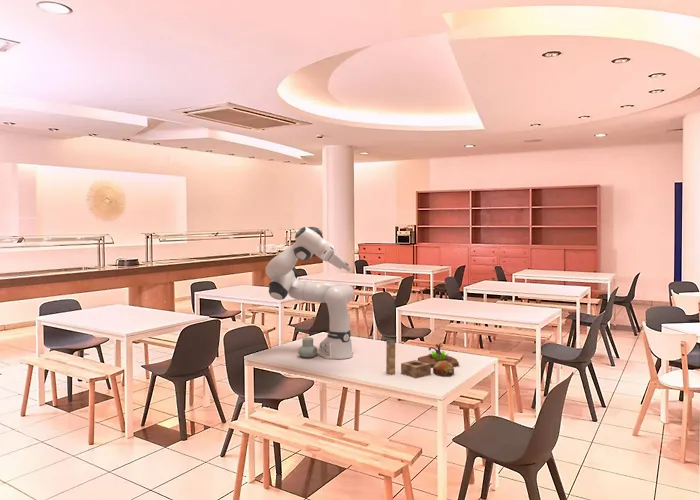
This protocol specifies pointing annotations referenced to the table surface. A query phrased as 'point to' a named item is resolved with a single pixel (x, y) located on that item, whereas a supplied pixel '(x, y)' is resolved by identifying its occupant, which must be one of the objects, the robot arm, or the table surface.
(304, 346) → the air freshener
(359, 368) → the table surface
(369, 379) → the table surface
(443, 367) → the bread roll
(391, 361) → the upright wooden post
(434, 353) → the plant
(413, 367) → the square wooden socket base
